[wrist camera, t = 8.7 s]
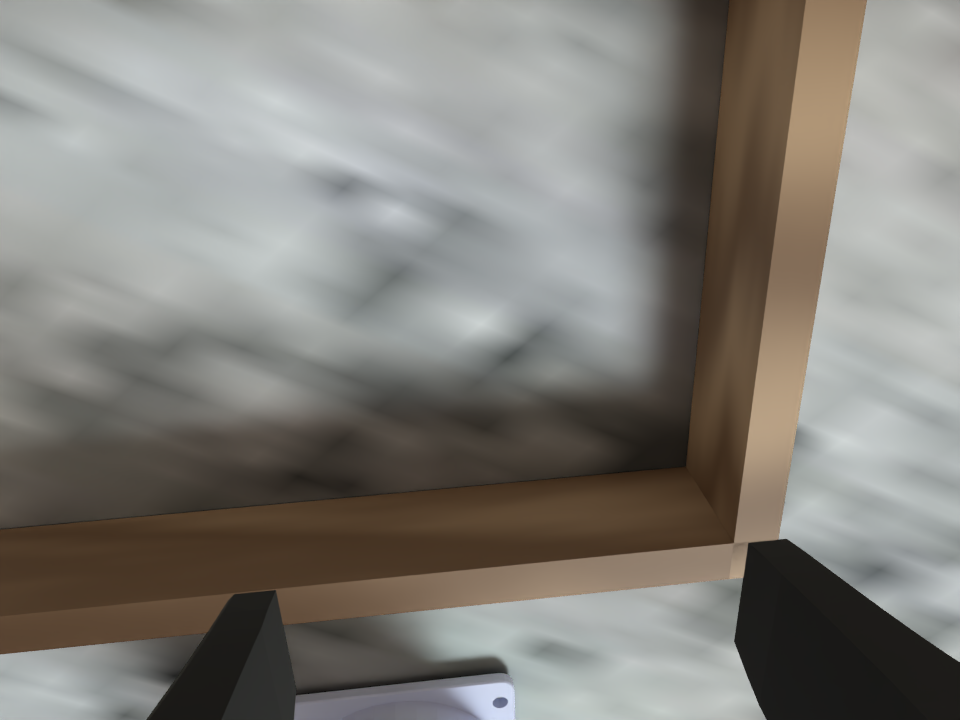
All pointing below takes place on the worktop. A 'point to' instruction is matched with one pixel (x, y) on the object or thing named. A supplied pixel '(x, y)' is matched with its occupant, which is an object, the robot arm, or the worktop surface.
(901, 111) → the worktop surface
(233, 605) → the robot arm
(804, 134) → the wooden frame
